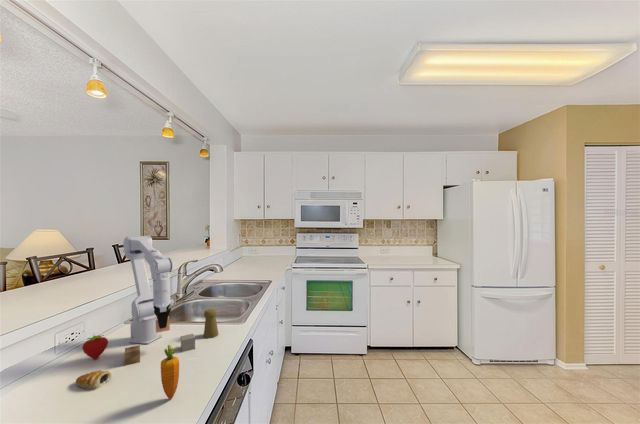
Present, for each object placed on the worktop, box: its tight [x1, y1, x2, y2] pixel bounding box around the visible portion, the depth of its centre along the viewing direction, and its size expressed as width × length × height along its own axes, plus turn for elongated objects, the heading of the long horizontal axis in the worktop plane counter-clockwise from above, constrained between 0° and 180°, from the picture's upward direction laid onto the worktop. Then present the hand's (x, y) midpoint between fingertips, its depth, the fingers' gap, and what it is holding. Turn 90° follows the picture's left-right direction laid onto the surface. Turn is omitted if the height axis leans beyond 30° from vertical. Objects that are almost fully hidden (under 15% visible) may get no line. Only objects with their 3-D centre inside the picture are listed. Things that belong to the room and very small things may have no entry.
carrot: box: [160, 344, 180, 400], centre depth 83 cm, size 5×5×15 cm
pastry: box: [75, 369, 112, 390], centre depth 92 cm, size 9×7×4 cm
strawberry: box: [81, 333, 109, 360], centre depth 107 cm, size 6×8×10 cm
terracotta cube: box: [155, 315, 171, 334], centre depth 113 cm, size 4×4×4 cm
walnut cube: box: [124, 344, 141, 367], centre depth 105 cm, size 4×4×4 cm
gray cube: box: [180, 333, 196, 353], centre depth 114 cm, size 4×4×4 cm
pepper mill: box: [203, 308, 219, 339], centre depth 126 cm, size 6×6×11 cm
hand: (162, 325), depth 113 cm, fingers closed on terracotta cube, 4 cm apart
